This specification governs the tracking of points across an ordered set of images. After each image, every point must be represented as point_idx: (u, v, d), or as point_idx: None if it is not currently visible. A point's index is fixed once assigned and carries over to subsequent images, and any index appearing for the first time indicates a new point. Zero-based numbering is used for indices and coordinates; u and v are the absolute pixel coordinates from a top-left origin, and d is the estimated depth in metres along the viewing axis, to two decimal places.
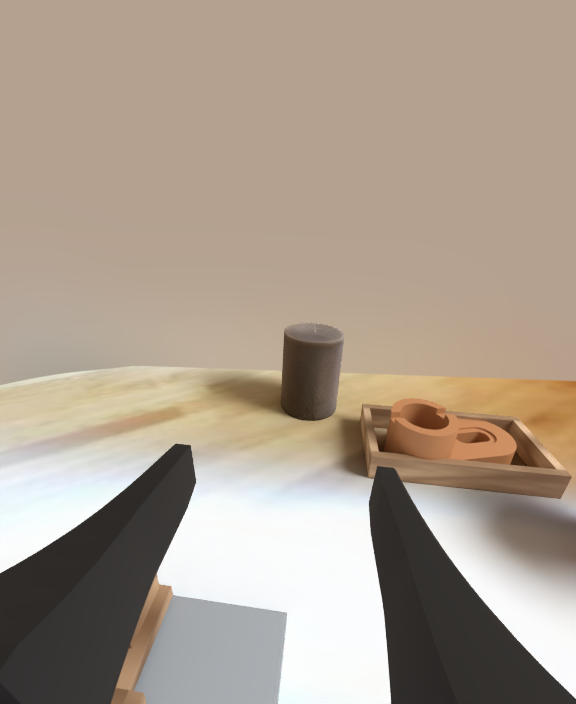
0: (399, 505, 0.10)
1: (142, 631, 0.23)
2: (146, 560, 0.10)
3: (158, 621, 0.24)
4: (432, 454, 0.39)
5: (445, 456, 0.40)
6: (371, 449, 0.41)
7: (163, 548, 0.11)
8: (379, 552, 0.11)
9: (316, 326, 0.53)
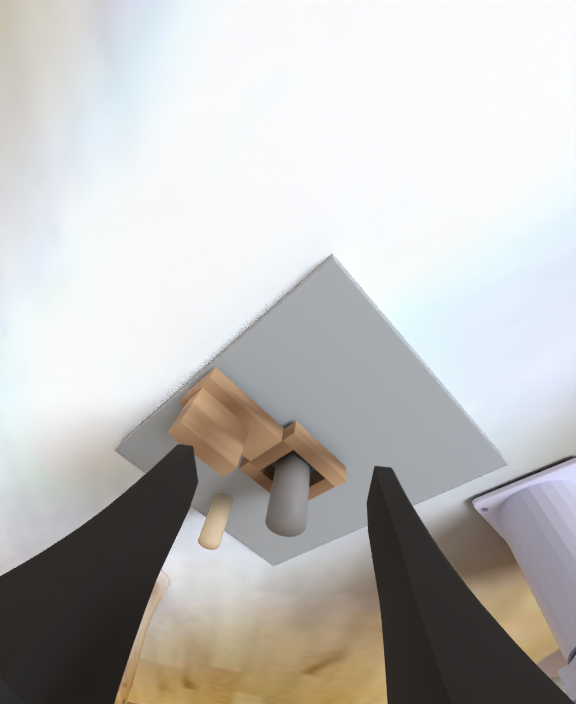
0: (396, 505, 0.10)
1: (240, 416, 0.20)
2: (149, 560, 0.10)
3: (238, 397, 0.20)
4: None
5: None
6: None
7: (165, 548, 0.11)
8: (376, 552, 0.11)
9: None
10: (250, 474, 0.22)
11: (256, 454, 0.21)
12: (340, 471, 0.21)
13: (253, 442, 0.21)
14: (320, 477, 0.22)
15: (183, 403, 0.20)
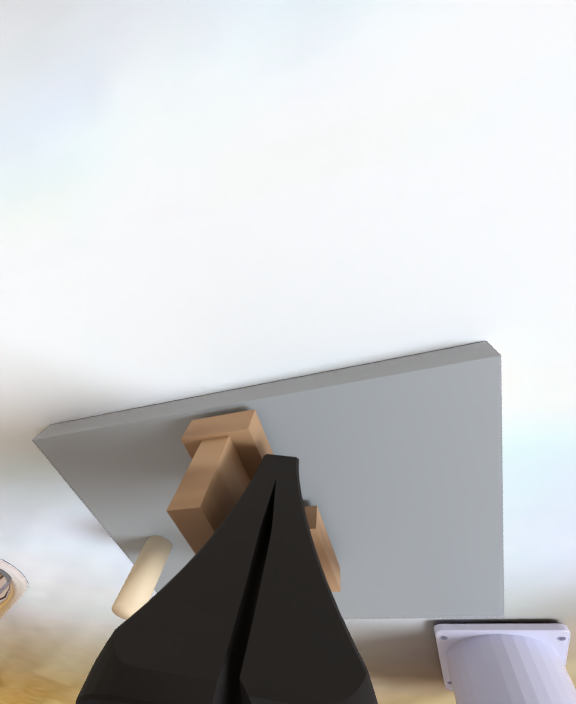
0: (284, 491, 0.10)
1: None
2: (259, 577, 0.10)
3: None
4: None
5: None
6: None
7: None
8: None
9: None
10: None
11: None
12: (337, 577, 0.17)
13: None
14: None
15: (186, 442, 0.13)
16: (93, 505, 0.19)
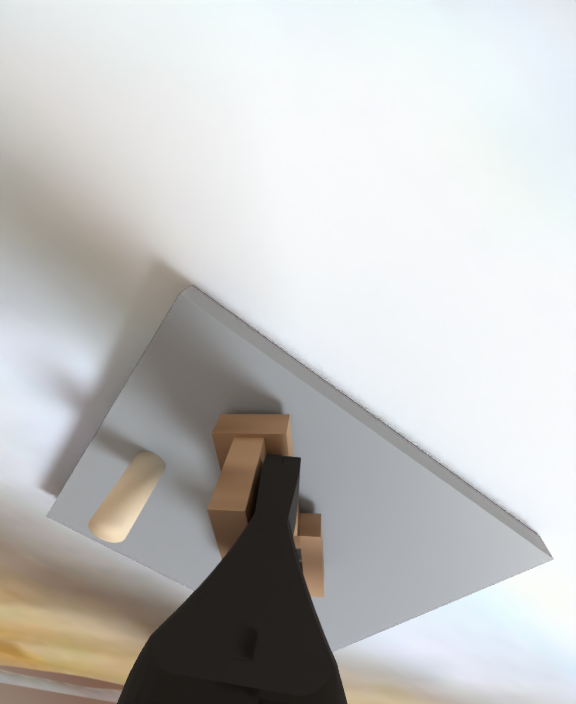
0: (267, 489, 0.10)
1: None
2: None
3: None
4: None
5: None
6: None
7: None
8: None
9: None
10: None
11: None
12: (323, 584, 0.17)
13: None
14: None
15: (216, 437, 0.13)
16: (137, 388, 0.14)
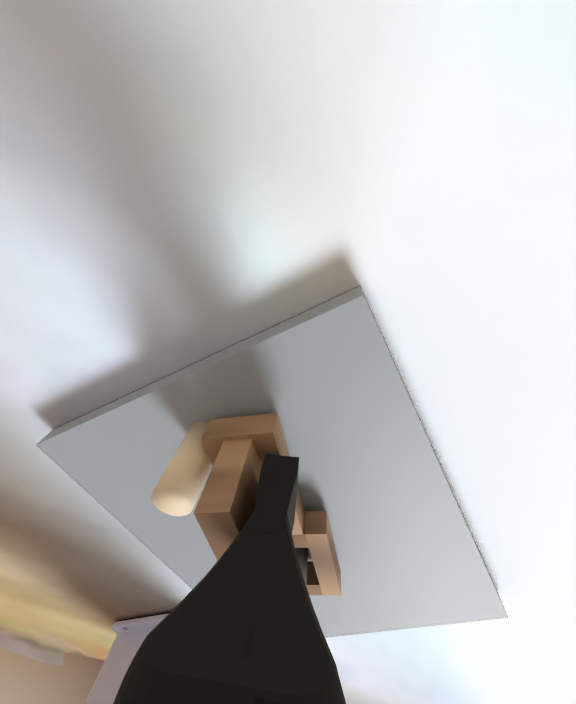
0: (266, 489, 0.10)
1: None
2: None
3: None
4: None
5: None
6: None
7: None
8: None
9: None
10: None
11: None
12: (339, 582, 0.17)
13: None
14: (311, 578, 0.17)
15: (206, 442, 0.13)
16: (246, 362, 0.13)
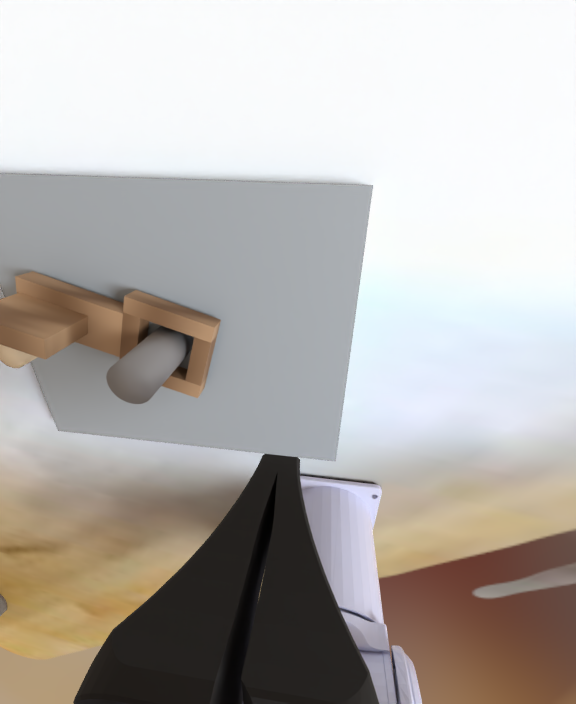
0: (285, 491, 0.10)
1: (70, 306, 0.18)
2: (258, 576, 0.10)
3: (59, 288, 0.18)
4: None
5: None
6: None
7: (264, 563, 0.11)
8: None
9: None
10: None
11: (117, 344, 0.19)
12: (204, 321, 0.18)
13: (104, 331, 0.19)
14: (194, 341, 0.19)
15: None
16: (1, 269, 0.19)
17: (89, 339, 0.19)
